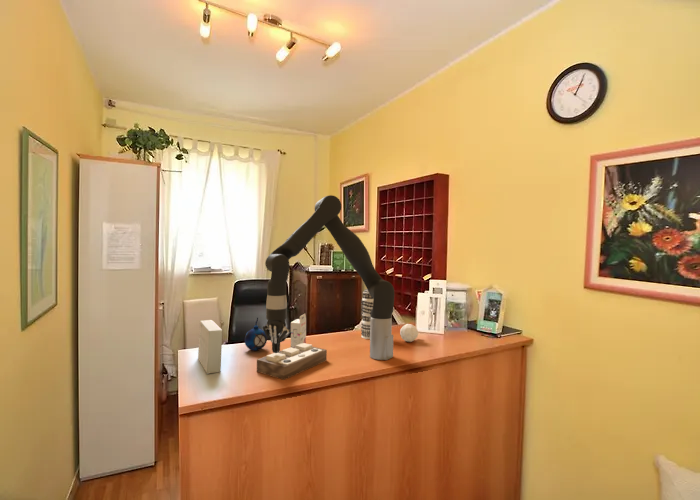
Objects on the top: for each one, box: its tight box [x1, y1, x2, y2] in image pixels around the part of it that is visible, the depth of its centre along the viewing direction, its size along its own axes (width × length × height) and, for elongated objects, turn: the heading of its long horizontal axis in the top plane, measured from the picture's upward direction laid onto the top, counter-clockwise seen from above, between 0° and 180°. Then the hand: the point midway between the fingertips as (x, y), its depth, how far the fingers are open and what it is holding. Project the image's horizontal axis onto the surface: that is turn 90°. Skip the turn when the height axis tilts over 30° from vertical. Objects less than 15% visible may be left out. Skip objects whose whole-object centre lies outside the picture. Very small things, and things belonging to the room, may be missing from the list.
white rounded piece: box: [399, 323, 419, 343], centre depth 174 cm, size 9×9×12 cm
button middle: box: [281, 346, 300, 357], centre depth 137 cm, size 5×5×3 cm
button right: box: [295, 342, 313, 352], centre depth 144 cm, size 5×5×3 cm
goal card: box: [278, 347, 323, 365], centre depth 134 cm, size 4×21×1 cm, turn 147°
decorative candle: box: [360, 288, 373, 340], centre depth 180 cm, size 9×9×25 cm
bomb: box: [244, 317, 268, 352], centre depth 155 cm, size 10×11×15 cm
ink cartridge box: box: [290, 313, 307, 347], centre depth 164 cm, size 9×5×15 cm, turn 168°
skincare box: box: [197, 319, 223, 375], centre depth 136 cm, size 21×5×16 cm, turn 32°
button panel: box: [256, 346, 328, 381], centre depth 136 cm, size 14×25×4 cm, turn 147°
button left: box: [265, 352, 286, 363], centre depth 130 cm, size 5×5×3 cm
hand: (275, 352), depth 130 cm, fingers closed
